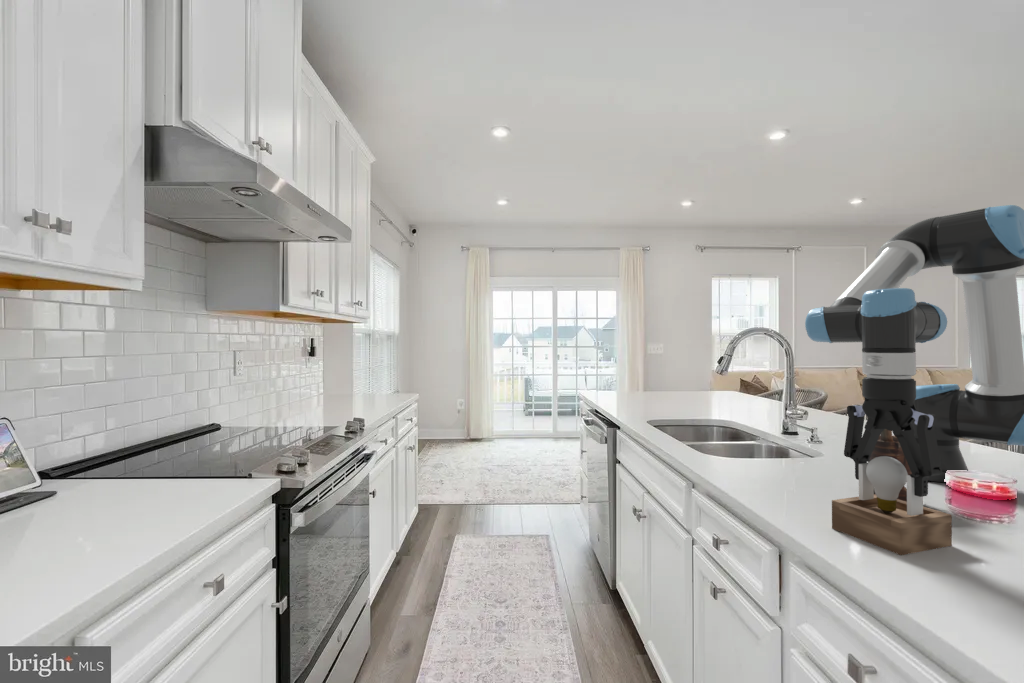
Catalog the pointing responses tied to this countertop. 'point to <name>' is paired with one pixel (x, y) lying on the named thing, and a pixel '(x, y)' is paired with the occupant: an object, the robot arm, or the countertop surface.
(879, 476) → the light bulb
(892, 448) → the mortar and pestle
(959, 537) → the countertop surface
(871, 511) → the tray
